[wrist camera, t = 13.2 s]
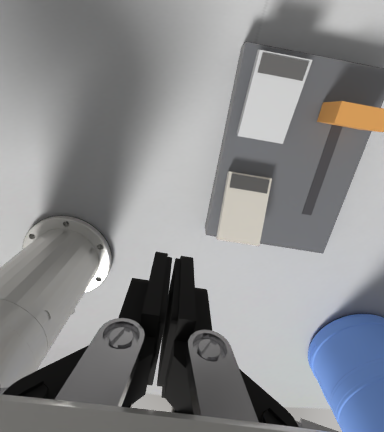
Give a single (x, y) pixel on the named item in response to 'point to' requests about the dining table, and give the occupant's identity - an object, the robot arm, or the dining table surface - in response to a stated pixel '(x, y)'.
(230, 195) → the cream rocker
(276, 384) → the dining table surface
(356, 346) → the water jug
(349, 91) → the control panel
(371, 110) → the orange rectangular prism
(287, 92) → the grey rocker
